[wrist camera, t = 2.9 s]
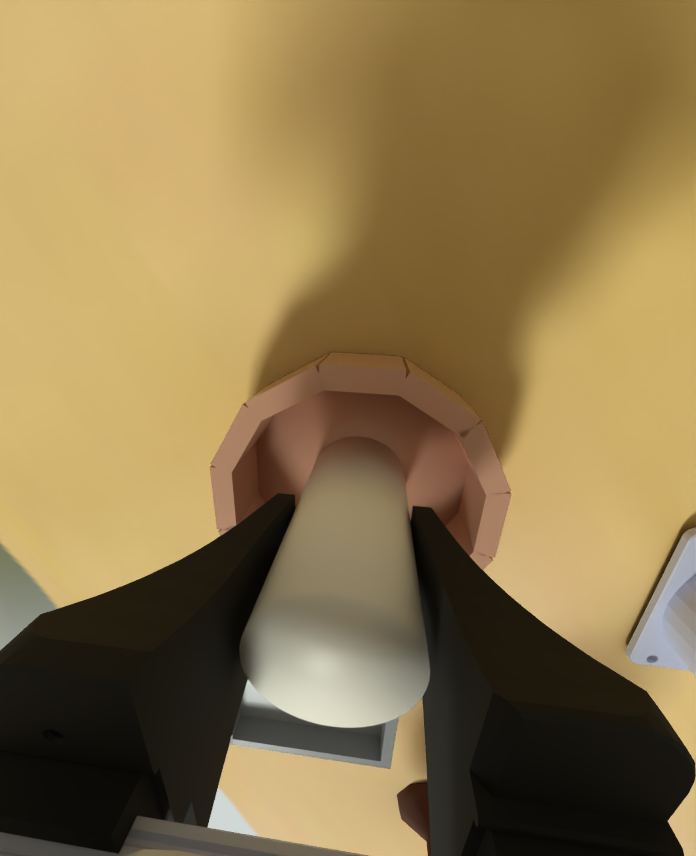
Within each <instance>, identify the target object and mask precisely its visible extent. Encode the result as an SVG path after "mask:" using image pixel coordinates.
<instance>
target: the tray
mask: <svg viewBox="0 0 696 856" xmlns="http://www.w3.org/2000/svg"><path fill="white" fill-rule="evenodd" d="M397 724H398V717H397V718H395V719H393V720H390V721H388V722H385V723H381V724H378V725H373V726H367V727H356V728H343V727H332V726H326V725H320V724H316V723H312V722H309V721H306V720H303V719H300V718H297V717H295V716H293V715H291V714H288V713H286V712H285V711H283V710H281V709H279V708H278V707H276V706H275V705H273V704H272V703H270V702H269V701H268V700H267V699H265V698H264V697H263V696H262V695H261V694H260V693H259V692H258V691H257V690H256V689H255V688H254V687H253V685H252V684H251V683H250V681H249V680H247V684H246V687H245V691H244V694H243V697H242V701H241V704H240V708H239V711H238V715H237V718H236V722H235V725H234V729H233V733H232V736H231V740H230V743H229V744H230V745H236V746H243V747H249V748H256V749H262V750H269V751H276V752H282V753H289V754H295V755H302V756H308V757H315V758H321V759H328V760H335V761H341V762H348V763H354V764H361V765H367V766H374V767H380V768H387V769H390V767H391V761H392V755H393V748H394V742H395V736H396V730H397Z"/></svg>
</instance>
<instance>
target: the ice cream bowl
mask: <svg viewBox="0 0 696 856" xmlns="http://www.w3.org/2000/svg"><path fill="white" fill-rule="evenodd" d="M397 798H398V805H399V810H400V814H401V819H402V820H403V821H404V822H405V823H407V824H408V825H409V826H410V827H411V828H412V829H413V830H414V831H415V832H417V833H418V834H419V835H420V836H421V837H422V838H423V839H424V840H425V841H427V850H428V856H431V846H430V823H429V800H428V783H421V784H413V785H409V786H408V787H407V788H405V789H404V790H403V791H402V792H400V793H399V794H398V795H397Z"/></svg>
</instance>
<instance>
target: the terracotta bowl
mask: <svg viewBox="0 0 696 856" xmlns="http://www.w3.org/2000/svg"><path fill="white" fill-rule="evenodd" d="M354 436H358V437H367V438H371V439H374V440H377V441H379V442H381V443H383V444H385V445H386V446H387V447H389V448H390V449H391V450H392V451H393V452H394V453H395V454H396V456H397V457H398V459H399V460H400V462H401V464H402V467H403V471H404V477H405V484H406V492H407V499H408V506H409V514H410V521H411V515H412V508H413V506H421V507H431V508H432V509H433V510H434V512H435V513H436V514H437V516H438V517H439V518H440V520H441V521H442V522H443V524H444V525H445V526H446V528H447V529H448V530H449V532H450V533H451V534H452V536H453V537H454V538H455V539H456V541H457V542H458V543H459V544H460V545H461V547H462V548H463V549H464V550H465V551H466V553H467V554H468V555H469V556H470V557H471V558H472V559H473V560H474V562H475V563H476V564H477V565H478V566H479V567H480V568H481V569H482V570H483V569H484V568H485V567H486V566H487V565H488V564H490V563H491V562H492V561H493V558H492V557H495V556H496V552H497V548H498V544H499V540H500V536H501V532H502V528H503V524H504V521H505V517H506V513H507V509H508V505H509V501H510V497H511V493H510V491H511V489H510V487H509V485H508V482H507V480H506V477H505V475H504V472H503V470H502V467H501V465H500V462H499V460H498V457H497V455H496V453H495V450H494V448H493V445H492V443H491V440H490V438H489V435H488V433H487V430H486V428H485V425H484V423H483V422H482V420H481V419H480V418H479V417H478V416H477V414H476V413H475V412H474V411H473V410H472V409H471V408H470V406H469V405H468V404H467V403H466V402H465V401H464V400H463V398H462V397H461V396H460V395H459V394H457V393H456V392H454V391H453V390H451V389H450V388H448V387H447V386H445V385H444V384H443V383H441V382H440V381H438V380H437V379H435V378H434V377H432V376H431V375H429V374H428V373H426V372H425V371H423V370H422V369H421V368H419V367H418V366H416V365H415V364H413V363H412V362H410V361H409V360H407V359H406V358H404V359H403V360H402V357H401V356H388V355H371V354H355V353H338V352H332V353H331V354H330V353H328V354H326V355H324V356H323V357H321V358H319V359H317V360H315V361H313V362H311V363H309V364H307V365H305V366H303V367H302V368H300V369H298V370H296V371H294V372H292V373H290V374H288V375H286V376H284V377H282V378H281V379H279V380H277V381H275V382H273V383H271V384H270V385H269V386H267V387H266V388H264V389H263V390H262V391H260V392H259V393H257V394H256V395H254V396H253V397H252V398H250V399H249V400H247V401H246V402H245V403H244V404H243V405H242V406H241V408H240V410H239V412H238V414H237V416H236V418H235V420H234V421H233V423H232V425H231V427H230V429H229V431H228V433H227V434H226V436H225V438H224V440H223V442H222V444H221V446H220V447H219V449H218V451H217V453H216V455H215V457H214V459H213V460H212V462H211V465H212V466H211V467H210V473H211V481H212V490H213V499H214V507H215V516H216V525H217V529H220V530H219V531H218V532H219V533H220V535H223V534H224V533H226V532H227V531H229V530H230V529H231V528H233V527H234V526H236V525H237V524H239V523H240V522H241V521H243V520H244V519H245V518H247V517H248V516H249V515H251V514H252V513H253V512H255V511H256V510H257V509H258V508H260V507H261V506H262V505H263V504H265V503H266V502H267V501H269V500H270V499H271V498H272V497H274V496H275V495H276V494H278V493H282V494H293V495H295V509H296V507H297V504H298V502H299V500H300V497H301V495H302V493H303V490H304V488H305V486H306V483H307V481H308V478H309V476H310V474H311V471H312V469H313V467H314V464H315V462H316V460H317V458H318V456H319V455H320V453H321V452H322V451H323V450H324V449H325V448H326V447H327V446H328V445H330V444H331V443H333V442H335V441H337V440H340V439H342V438H347V437H354Z"/></svg>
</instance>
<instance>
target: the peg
mask: <svg viewBox="0 0 696 856" xmlns="http://www.w3.org/2000/svg"><path fill="white" fill-rule="evenodd" d="M239 652H240V660H241V665H242V667H243V670H244V673H245V674H246V676H247V678H248V680H249V681H250V683H251V684H252V685H253V687H254V688H255V689H256V690H257V691H258V692H259V693H260V694H261V695H262V696H263V697H264V698H265V699H267V700H268V701H269V702H270V703H272V704H273V705H275V706H276V707H278V708H279V709H281V710H283V711H285V712H286V713H288V714H291V715H293V716H295V717H297V718H300V719H303V720H306V721H309V722H312V723H316V724H320V725H326V726H332V727H343V728H356V727H367V726H373V725H378V724H381V723H385V722H388V721H390V720H393V719H395V718H397V717H399V716H401V715H403V714H405V713H406V712H407V711H409V710H410V709H412V708H413V707H414V706H415V705H416V704H417V703H418V702H419V700H420V699H421V698H422V697H423V695H424V693H425V691H426V689H427V686H428V683H429V679H430V664H429V656H428V649H427V641H426V634H425V626H424V619H423V611H422V604H421V596H420V589H419V581H418V574H417V566H416V559H415V551H414V544H413V536H412V529H411V521H410V514H409V506H408V499H407V492H406V484H405V477H404V471H403V467H402V464H401V462H400V460H399V459H398V457H397V456H396V454H395V453H394V452H393V451H392V450H391V449H390V448H389V447H387V446H386V445H385V444H383V443H381V442H379V441H377V440H374V439H371V438H367V437H358V436H354V437H347V438H342V439H340V440H337V441H335V442H333V443H331V444H330V445H328V446H327V447H326V448H325V449H324V450H323V451H322V452H321V453H320V455H319V456H318V458H317V460H316V462H315V464H314V467H313V469H312V471H311V474H310V476H309V478H308V481H307V483H306V486H305V488H304V490H303V493H302V495H301V497H300V500H299V502H298V504H297V507H296V509H295V512H294V514H293V516H292V519H291V521H290V523H289V526H288V528H287V530H286V533H285V535H284V537H283V540H282V542H281V545H280V547H279V549H278V552H277V554H276V556H275V559H274V561H273V563H272V566H271V568H270V571H269V573H268V575H267V578H266V580H265V582H264V585H263V587H262V589H261V592H260V594H259V596H258V599H257V601H256V604H255V606H254V608H253V611H252V613H251V615H250V618H249V620H248V622H247V625H246V627H245V630H244V632H243V635H242V637H241V641H240V647H239Z"/></svg>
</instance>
